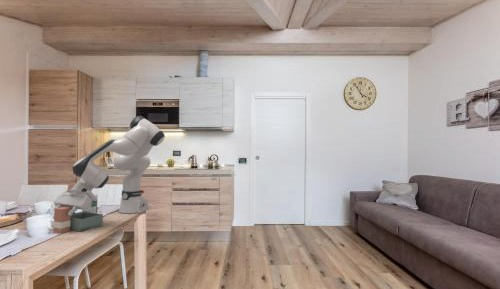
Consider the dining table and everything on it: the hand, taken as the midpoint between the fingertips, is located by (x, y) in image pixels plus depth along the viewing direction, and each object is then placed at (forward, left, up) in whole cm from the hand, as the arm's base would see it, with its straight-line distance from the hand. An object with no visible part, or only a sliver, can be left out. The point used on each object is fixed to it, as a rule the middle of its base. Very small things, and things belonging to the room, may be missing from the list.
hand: (62, 214), depth 145 cm
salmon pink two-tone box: (0, 0, -9) cm, 9 cm away
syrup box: (-25, -9, -9) cm, 28 cm away
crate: (-11, +1, -9) cm, 14 cm away
